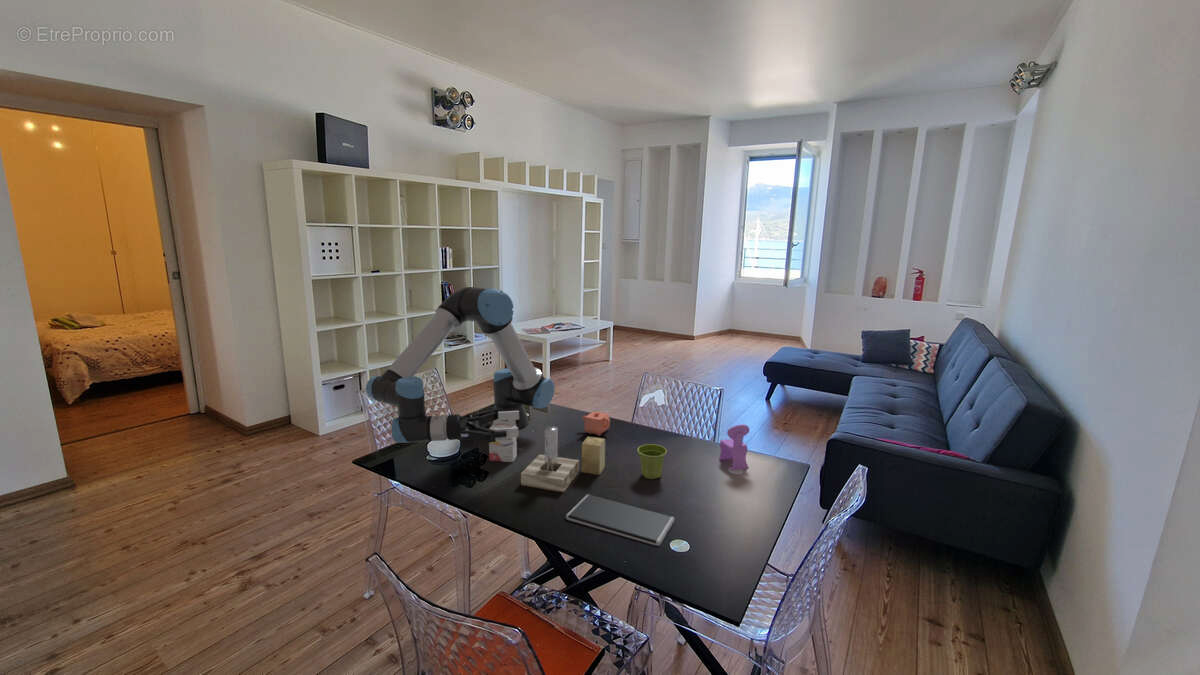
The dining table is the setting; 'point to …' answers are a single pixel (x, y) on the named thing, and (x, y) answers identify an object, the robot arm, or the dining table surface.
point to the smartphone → (622, 519)
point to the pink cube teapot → (596, 422)
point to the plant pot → (651, 460)
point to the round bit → (551, 448)
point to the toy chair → (735, 447)
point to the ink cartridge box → (503, 443)
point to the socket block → (550, 474)
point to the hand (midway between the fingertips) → (518, 423)
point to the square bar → (593, 455)
